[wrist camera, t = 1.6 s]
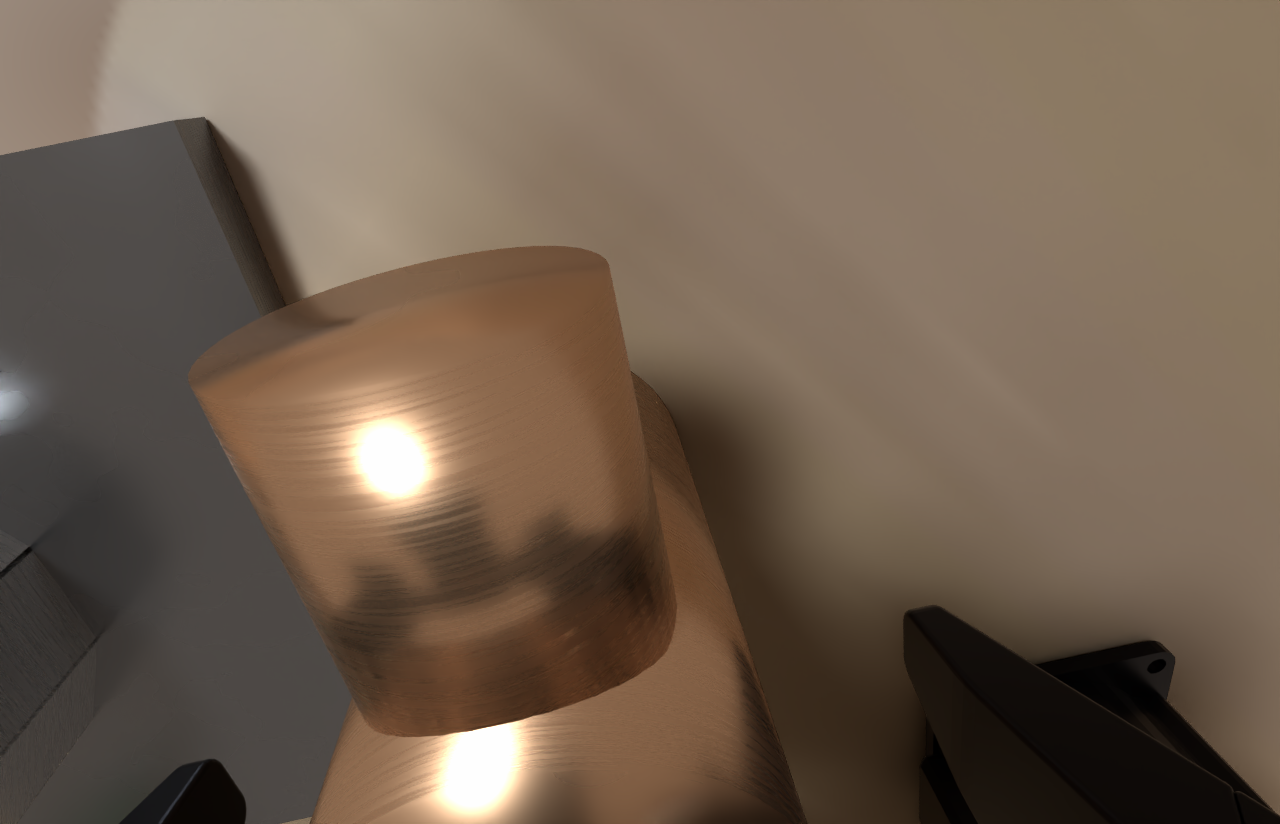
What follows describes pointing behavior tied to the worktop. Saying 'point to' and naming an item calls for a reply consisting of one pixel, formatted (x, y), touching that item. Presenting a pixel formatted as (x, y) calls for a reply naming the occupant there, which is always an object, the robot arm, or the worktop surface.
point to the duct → (138, 497)
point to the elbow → (497, 551)
